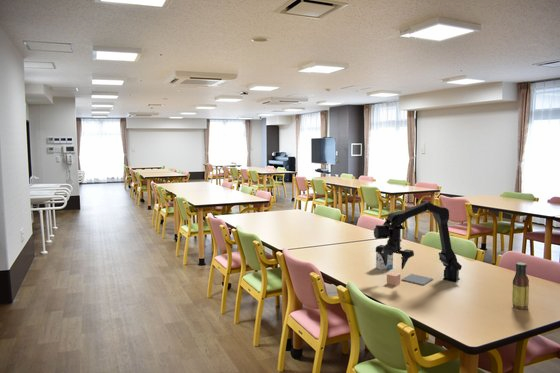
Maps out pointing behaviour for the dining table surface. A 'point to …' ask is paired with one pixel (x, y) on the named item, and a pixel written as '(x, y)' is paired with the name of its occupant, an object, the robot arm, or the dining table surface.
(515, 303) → the sauce bottle
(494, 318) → the dining table surface
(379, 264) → the ink box
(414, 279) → the charcoal mat
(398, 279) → the terracotta cube
